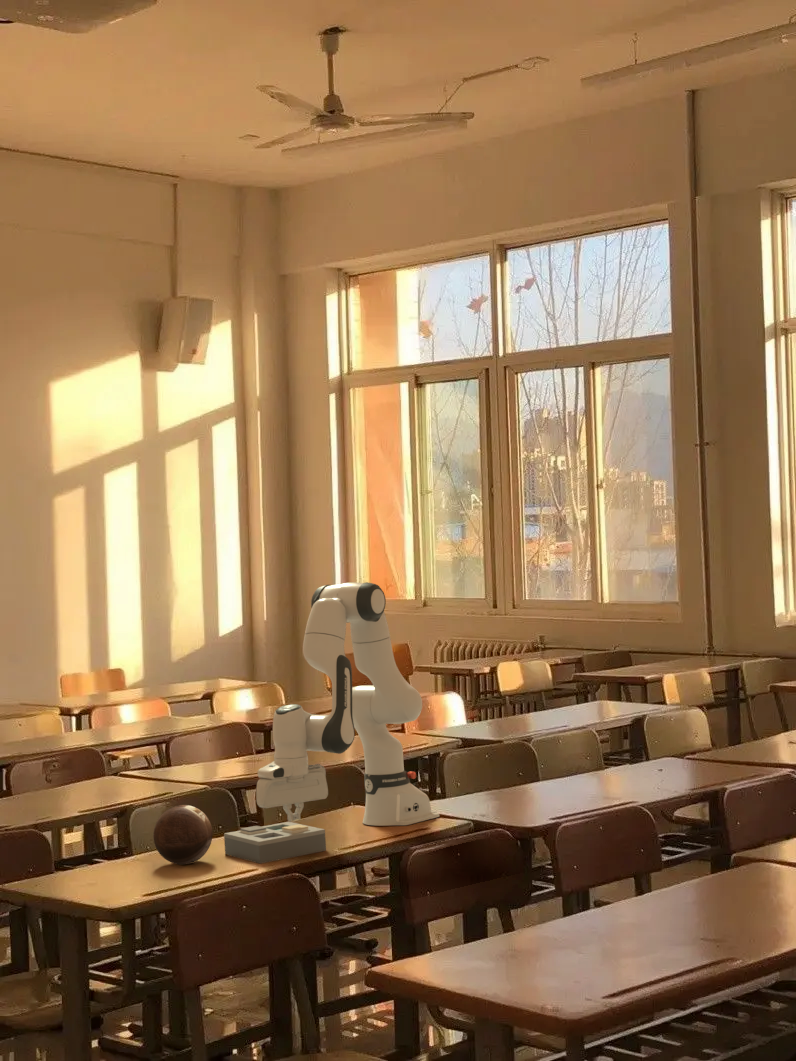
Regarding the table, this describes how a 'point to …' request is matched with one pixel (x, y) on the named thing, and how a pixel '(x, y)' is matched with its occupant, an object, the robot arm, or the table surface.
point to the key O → (252, 830)
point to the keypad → (274, 843)
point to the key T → (295, 829)
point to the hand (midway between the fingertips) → (294, 820)
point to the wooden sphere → (182, 834)
